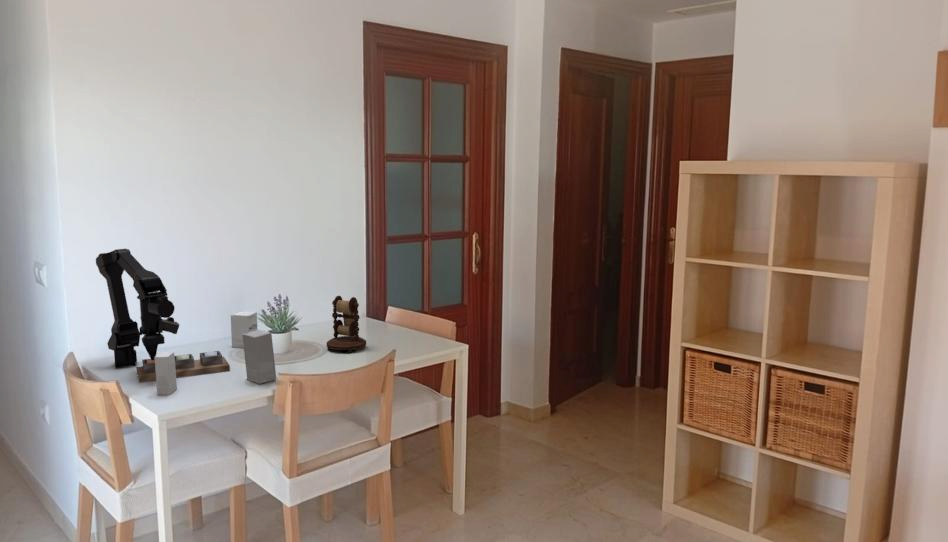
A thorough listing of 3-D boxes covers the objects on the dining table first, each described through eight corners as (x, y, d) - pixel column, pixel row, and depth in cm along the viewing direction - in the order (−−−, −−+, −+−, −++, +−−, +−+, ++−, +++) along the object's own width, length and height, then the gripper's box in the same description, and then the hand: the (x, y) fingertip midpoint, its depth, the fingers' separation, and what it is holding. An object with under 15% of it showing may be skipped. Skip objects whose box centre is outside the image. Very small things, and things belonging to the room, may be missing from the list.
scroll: (373, 346, 283) (372, 294, 279) (351, 355, 269) (350, 301, 266) (341, 342, 289) (340, 291, 286) (318, 351, 276) (316, 298, 272)
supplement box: (249, 348, 279) (247, 315, 277) (231, 347, 280) (229, 314, 278) (258, 343, 286) (257, 311, 284) (241, 342, 288) (239, 310, 286)
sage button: (177, 367, 246) (176, 358, 246) (176, 364, 250) (175, 355, 249) (190, 365, 248) (189, 357, 247) (188, 362, 251) (188, 354, 251)
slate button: (205, 363, 250) (205, 355, 250) (204, 360, 254) (203, 352, 253) (218, 362, 252) (217, 353, 252) (216, 359, 255) (216, 350, 255)
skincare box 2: (276, 380, 240) (274, 332, 237) (256, 385, 235) (254, 336, 232) (263, 375, 246) (261, 328, 243) (243, 379, 241) (241, 332, 238)
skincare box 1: (163, 388, 231) (160, 351, 229) (177, 388, 232) (174, 351, 230) (156, 395, 225) (153, 356, 223) (171, 394, 226) (168, 356, 224)
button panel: (139, 382, 237) (138, 367, 237) (136, 372, 248) (135, 358, 247) (229, 370, 250) (229, 356, 249) (224, 362, 261) (223, 348, 260)
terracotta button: (147, 371, 242) (147, 362, 241) (147, 367, 245) (146, 359, 245) (161, 369, 244) (160, 360, 243) (160, 366, 247) (159, 357, 247)
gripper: (179, 316, 237) (182, 363, 240) (173, 306, 254) (176, 350, 256) (141, 320, 232) (145, 368, 235) (138, 309, 249) (141, 354, 251)
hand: (153, 359), depth 244 cm, fingers closed, pressing on terracotta button
